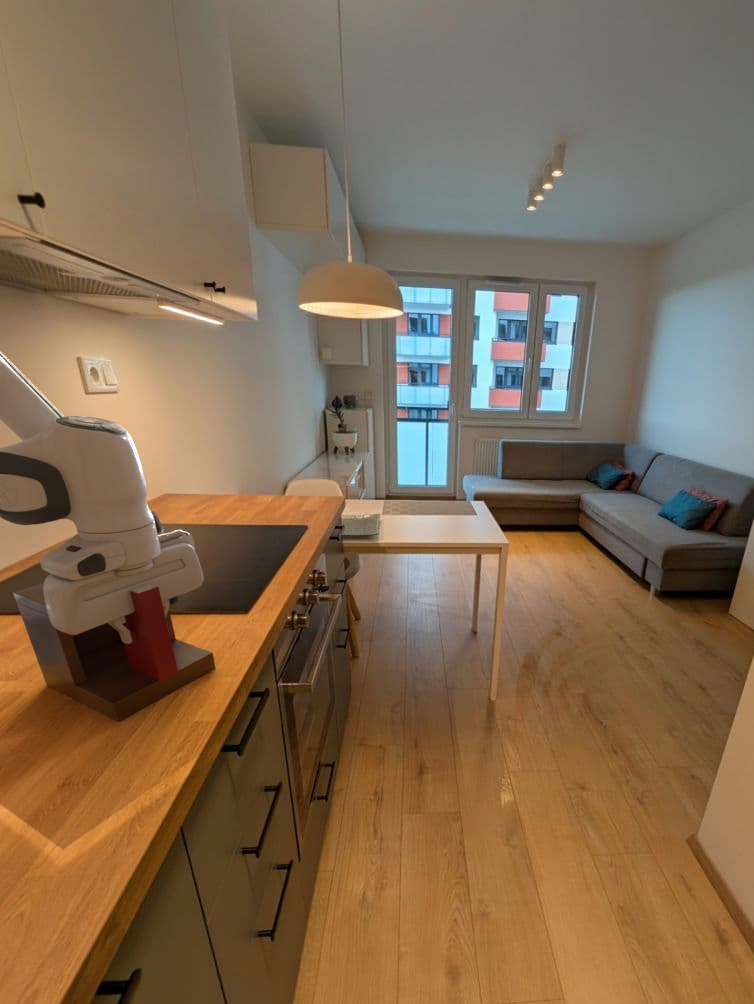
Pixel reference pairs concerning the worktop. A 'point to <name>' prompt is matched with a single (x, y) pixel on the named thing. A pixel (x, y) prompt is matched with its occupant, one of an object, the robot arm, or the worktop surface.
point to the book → (150, 635)
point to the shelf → (102, 662)
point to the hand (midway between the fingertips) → (145, 635)
